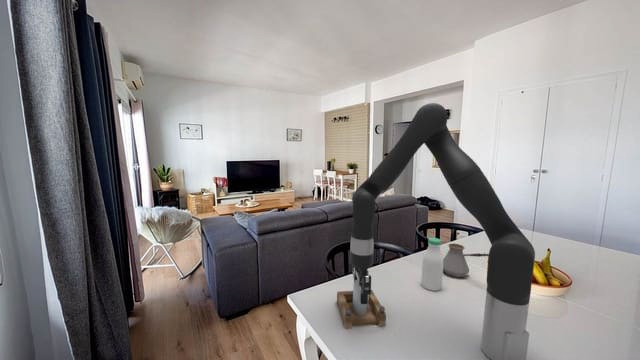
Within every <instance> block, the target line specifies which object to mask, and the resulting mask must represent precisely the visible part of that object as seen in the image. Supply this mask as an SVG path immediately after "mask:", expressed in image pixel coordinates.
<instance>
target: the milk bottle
mask: <svg viewBox="0 0 640 360" xmlns="http://www.w3.org/2000/svg"><path fill="white" fill-rule="evenodd" d="M427 242H428V243H427V244H428V246H427V248H426V251H424V255H423V258H422V265H421V266H422V268H421V281H420V283H421V285H422V286H421V287H423V288H424V289H426V290H429V291H434V292H437V291H440V290H441V289H442V287H443V277H444V275H443V274H444V270H443V259H444V257H443V253H442V252H441V251H442V250H441V247H442V246H441V244H442V240H441V239H440V238H437V237H429V238H428V240H427Z"/></svg>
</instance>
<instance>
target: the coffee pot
mask: <svg viewBox="0 0 640 360" xmlns="http://www.w3.org/2000/svg"><path fill="white" fill-rule="evenodd" d="M447 245H448V247H449V250H448V252H447V253H446V254H445V256H444V257H443V272H444V273H445V274H446V275H448V276H450V277H455V278H462V277H464V276H466V275H467V274H469V272H470V268H469V265H468V263H467V260H466V257H479V258H480V257H489V253H485V252H484V253H464V252H463V251H464V250H465V246H464V245H461V244H459V243H449V244H447Z"/></svg>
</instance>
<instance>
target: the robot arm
mask: <svg viewBox="0 0 640 360" xmlns="http://www.w3.org/2000/svg"><path fill="white" fill-rule="evenodd" d="M447 123H448V112H447V110H446V108H445V107H444V106H443V105H442V104H440V103H436V102H431V103H427V104H425V105H422V106H421V107H420V108H419V109H418V110H417V111H416V113H415V114H414V116H413V118H412V119H411V121H410V123H409V125H408V127H407V128H406V130H405V131H404V133H403V134H402V135H401V136H400V139H399V140H398V141H397V142H396V144H395V145H394V146H393V148H391V150H390V151H389V152H388V153H387V155H386V156H385V157H384V158H383V160H382V161H381V162H380V163H379V164H378V165H377V167H376V168H374V170H373V171H372V173H371V174H370V176H368V178H367V179H366V180H365V181H363V182H362V183H361V184H360V185H359V187H357V189H356V190H355V191H354V192H353V194H352V196H351V197H352V199H351V201H352V222H351V233H350V235H351V238H350V242H349V243H350V251H349V262H350V264H351V268H352V269H351V275H353V276H352V278H353V282H354V281H355V280H357V279H358V285H359V286H360V292H361V298H360V302H361V304H367V303H368V295H371V290H372V275H370V273H369V270H368V269H369V268H370V267H372V266H373V264H374V248H375V245H374V220H375V214H376V199H378V197H379V196H380V195H381V194H382V193H383V192H386V191H387V190H389V189H390V188H391V186H392V185H393V184H394V183H395V182H396V181H397V179H398V178H399V177H400V176H401V174H402V173H403V172H404V171H405V169H406V168H407V166H408V164H409V163H410V161H411V159H413V157H414V155H416V153H417V152H418V150H419V149H420V148H421V147H422V146H423V144H424V145H425V146H426V147H427V149H428V150H429V152H430V153H431V154H432V156H433V158H434V160H435V161H436V163H437V165H438V167H439V170H440V171H441V173H442V175H443V178H444V179H445V181H446V182H447V184H448V186H449V187H450V189H451V192H452V193H453V195H454V197H455V198H456V199H457V200H458V202H459V203H460V204H461V205H462V207H463V208H465V210H466V211H467V212H469V214H471V216H473V218H474V219H475V220H477V222H478V224H479V225H480V226H481V228H482V229H483V230H484V233H485V235H486V236H487V238H488V241H489V242H490V245H491V246H490V249H489V251H488V254H489V256H487V259H488V260H487V270H486V271H487V272H486V292H485V293H486V294H485V302H484V304H485V305H484V313H483V320H482V322H483V323H482V330H481V343H480V348H481V350H482V353H483V354H484V355H485V356H486V357H487V358H488V359H489V360H527V355H528V346H529V341H530V340H529V339H530V333H529V331H528V330H527V323H528V314H529V308H530V307H529V306H530V300H531V293H532V283H533V276H534V269H535V268H534V267H535V258H536V251H535V248H534V246H533V245H532V243H531V241H530V240H529V239H528V238H527V237H526V235H525V234H524V233H523V232H522V231H521V230H520V228H519V227H518V226H517V224H516V223H515V222H514V221H513V220H512V218H511V217H510V216H509V214H508V213H507V211H506V210H505V208H504V206H503V204H502V202H501V200H500V199H499V197H498V194H497V193H496V192H495V189H494V188H493V187H492V185H491V182H490V180H489V179H487V177H486V175H485V173H484V172H483V171H482V169H481V167H479V165H478V164H477V162H475V161H474V159H473V158H471V157H470V155H468V154H467V152H465V151H464V150H463V149H462V148H461V147H460V146H459V145H458V143H456V141H455V138H454V137H453V136H452V134H451V132H450V130H449V128H448V126H447V125H448V124H447ZM360 281H362V283H361V282H360ZM365 288H366V289H365Z"/></svg>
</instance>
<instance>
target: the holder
mask: <svg viewBox="0 0 640 360" xmlns="http://www.w3.org/2000/svg"><path fill="white" fill-rule="evenodd" d="M336 295H337V296H336V304H337V307H338V309H339V313H340V317H341V319H342V323H343V326H344V329H352V328H353V327H356V326H358V327H359V326H371V325H374V326H375V325H378V326H379V327H386V325H387V322H386V321H387V313H386V311H385V310H386V308H385V306H383V305H382V304H381V303H380V301H379V299H378V298H377V296H376V294H375V293H374V291H373V289H371V295H369V300H368V313H367V314H366V315H364V316H359V315H356V314H354V313H353V311H352V305H353V290H345V291H344V290H343V291H337V292H336Z"/></svg>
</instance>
